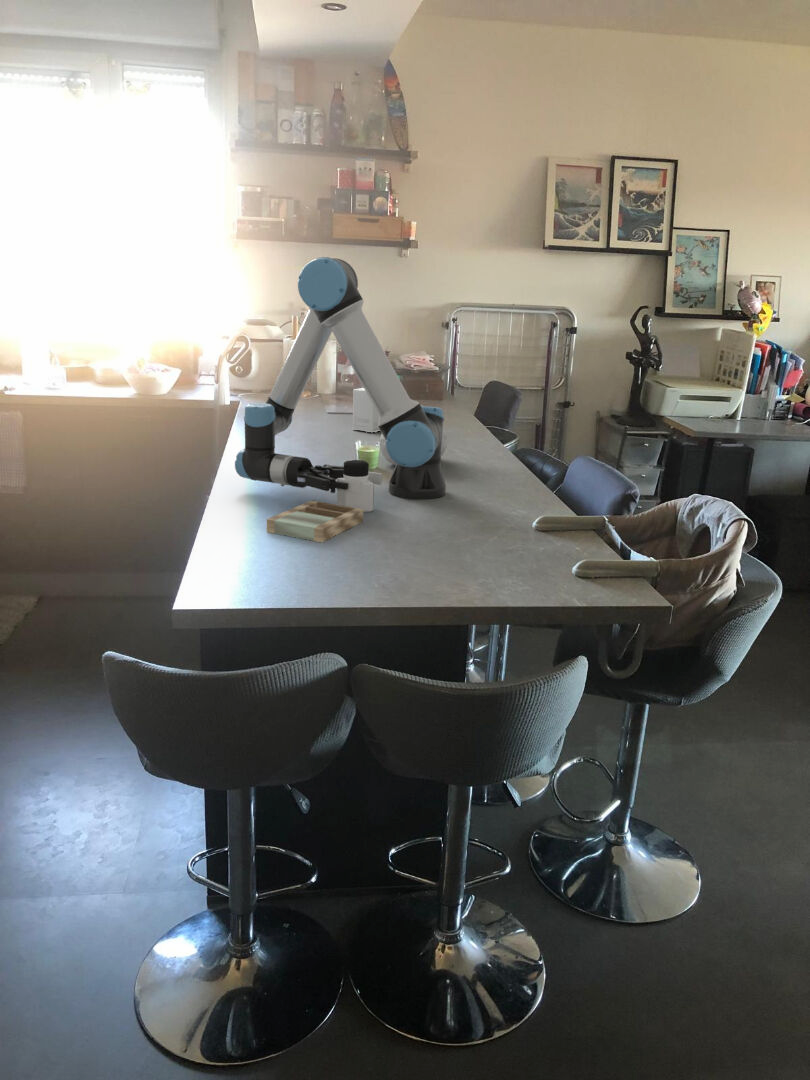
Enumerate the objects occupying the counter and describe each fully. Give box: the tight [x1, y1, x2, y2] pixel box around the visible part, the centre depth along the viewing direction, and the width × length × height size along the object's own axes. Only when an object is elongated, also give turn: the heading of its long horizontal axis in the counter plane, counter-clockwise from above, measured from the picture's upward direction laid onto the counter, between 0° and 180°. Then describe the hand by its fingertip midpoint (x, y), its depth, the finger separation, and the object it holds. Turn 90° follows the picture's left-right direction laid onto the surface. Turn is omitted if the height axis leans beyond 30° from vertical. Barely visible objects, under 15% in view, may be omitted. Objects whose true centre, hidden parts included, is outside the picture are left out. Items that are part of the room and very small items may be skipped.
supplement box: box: [352, 387, 380, 431], centre depth 313 cm, size 9×9×15 cm
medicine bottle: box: [336, 459, 375, 513], centre depth 211 cm, size 7×7×12 cm
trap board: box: [266, 500, 364, 543], centre depth 196 cm, size 19×14×3 cm
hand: (371, 483), depth 209 cm, fingers closed on medicine bottle, 10 cm apart
